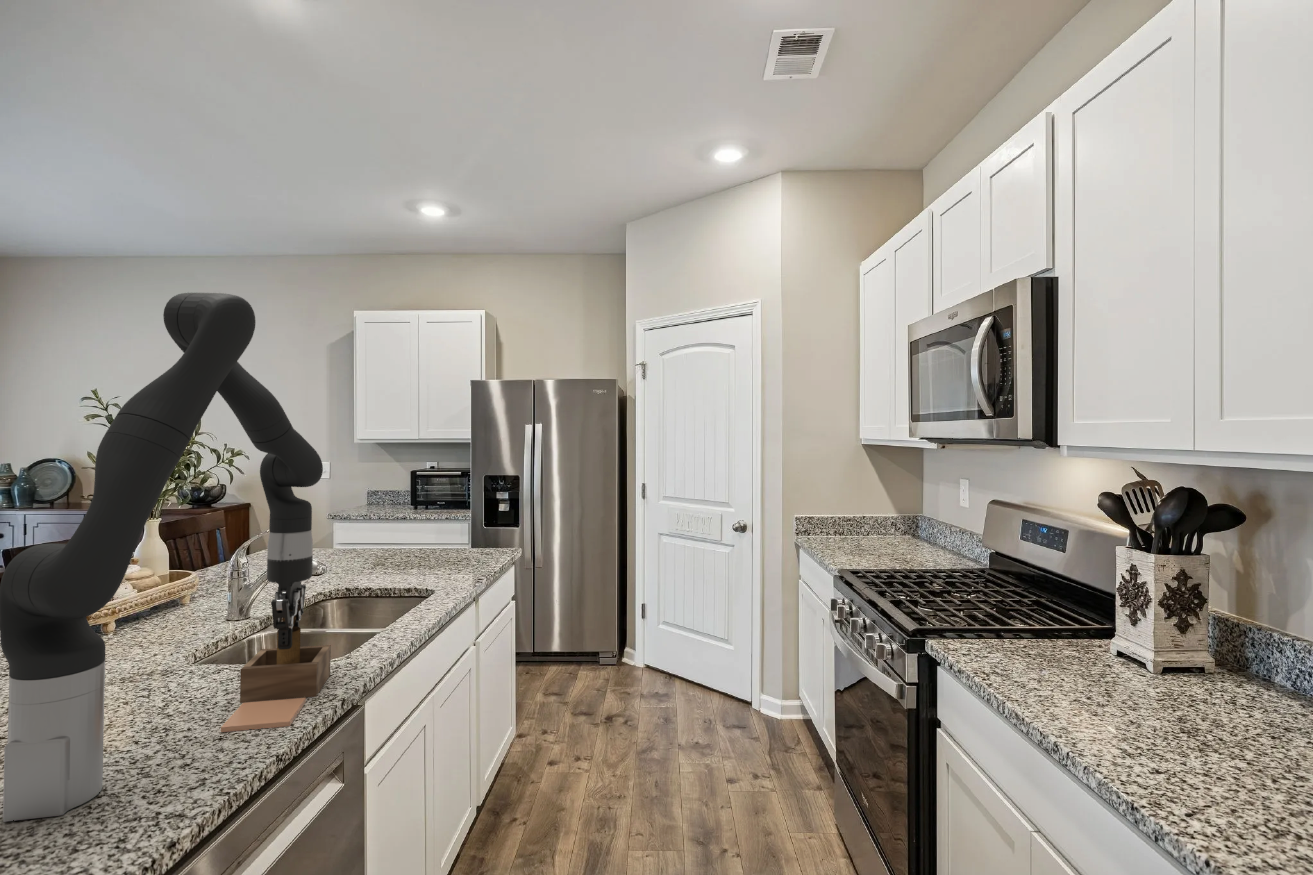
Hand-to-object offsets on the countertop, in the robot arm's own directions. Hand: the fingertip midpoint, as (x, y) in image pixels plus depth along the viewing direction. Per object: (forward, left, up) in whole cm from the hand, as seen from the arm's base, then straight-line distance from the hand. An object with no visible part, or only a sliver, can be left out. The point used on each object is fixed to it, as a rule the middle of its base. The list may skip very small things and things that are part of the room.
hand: (288, 644), depth 123 cm
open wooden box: (0, 0, -8) cm, 8 cm away
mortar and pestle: (0, 0, -8) cm, 8 cm away
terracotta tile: (-13, 0, -8) cm, 15 cm away
